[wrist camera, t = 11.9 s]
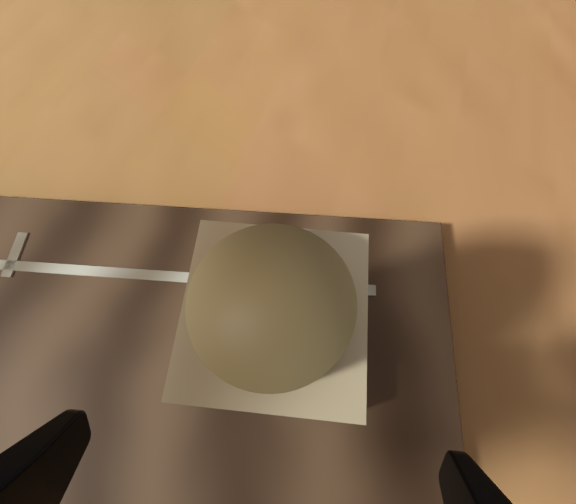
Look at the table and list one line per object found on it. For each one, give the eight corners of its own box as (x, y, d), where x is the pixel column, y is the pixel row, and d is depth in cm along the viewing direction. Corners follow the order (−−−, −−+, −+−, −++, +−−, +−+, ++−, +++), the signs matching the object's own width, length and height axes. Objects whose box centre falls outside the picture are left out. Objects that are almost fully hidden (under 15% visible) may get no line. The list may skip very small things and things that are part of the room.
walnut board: (433, 229, 21) (441, 222, 20) (463, 545, 15) (475, 557, 14) (-78, 198, 22) (-97, 189, 21) (-229, 478, 16) (-263, 484, 15)
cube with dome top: (362, 310, 18) (476, 200, 7) (360, 410, 16) (509, 485, 5) (218, 296, 18) (103, 171, 7) (201, 393, 17) (13, 426, 5)
